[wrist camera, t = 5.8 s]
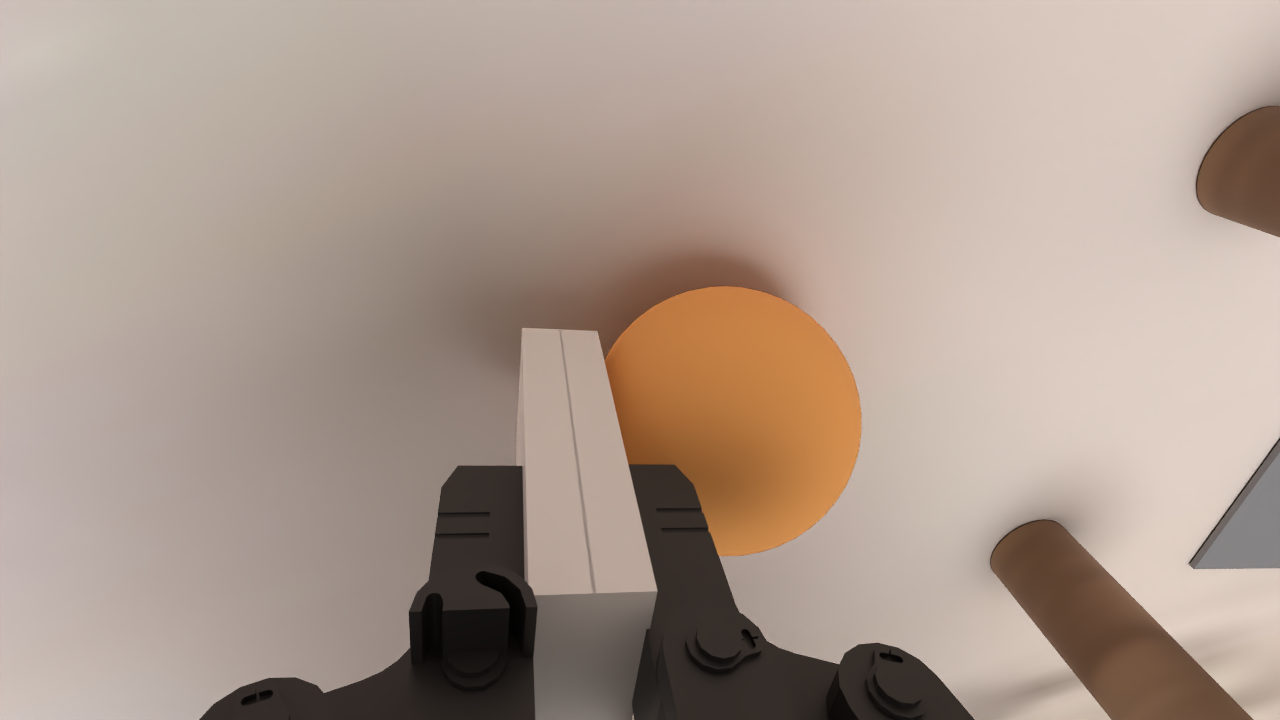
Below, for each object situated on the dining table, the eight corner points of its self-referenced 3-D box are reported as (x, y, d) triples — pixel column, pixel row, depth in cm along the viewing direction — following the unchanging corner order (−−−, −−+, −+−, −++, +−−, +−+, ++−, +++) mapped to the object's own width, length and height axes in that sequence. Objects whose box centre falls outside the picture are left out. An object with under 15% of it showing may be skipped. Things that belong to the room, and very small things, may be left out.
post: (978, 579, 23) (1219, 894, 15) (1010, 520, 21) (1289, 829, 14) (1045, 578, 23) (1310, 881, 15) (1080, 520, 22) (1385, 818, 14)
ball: (527, 538, 14) (777, 665, 12) (547, 291, 12) (863, 398, 10) (649, 429, 19) (847, 509, 17) (681, 234, 16) (917, 299, 14)
